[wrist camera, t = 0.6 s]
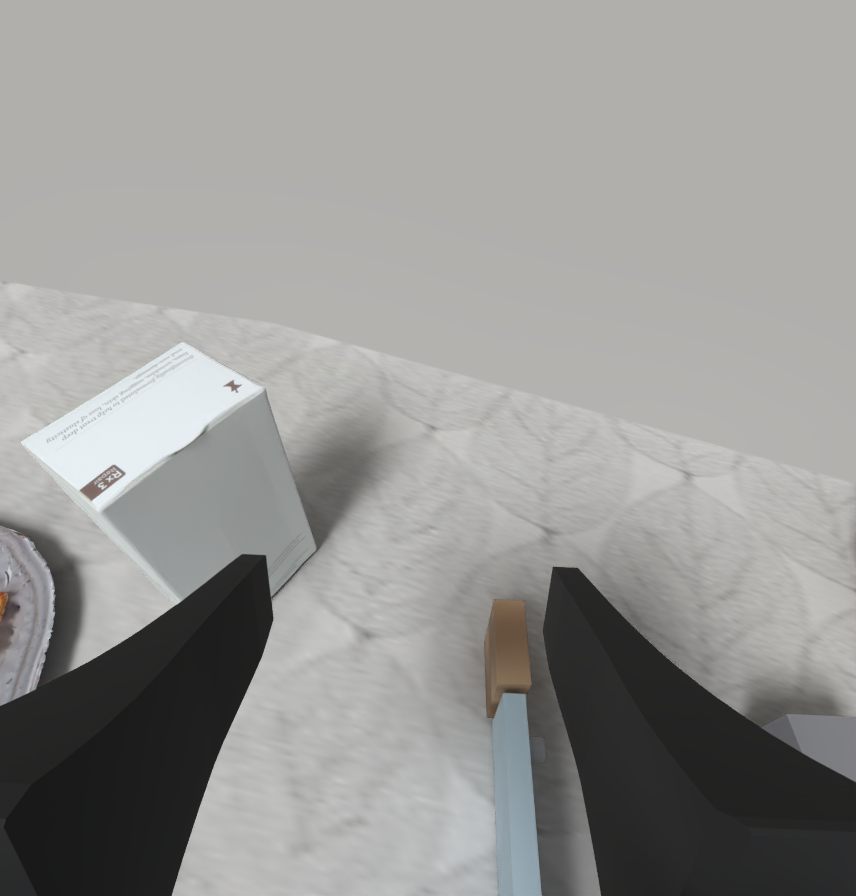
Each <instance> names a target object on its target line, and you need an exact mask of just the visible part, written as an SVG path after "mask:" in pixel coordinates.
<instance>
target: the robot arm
mask: <svg viewBox="0 0 856 896" xmlns="http://www.w3.org/2000/svg"><path fill="white" fill-rule="evenodd" d="M272 622H273V611H272V602H271V594H270V585H269V576H268V568H267V559H266V555H254V554H241V555H240V556H239V557H237V558H236V559H235V560H233V561H232V562H231V563H229V564H228V565H227V566H226V567H224V568H223V569H222V570H221V571H219V572H218V573H217V574H216V575H214V576H213V577H212V578H211V579H209V580H208V581H207V582H206V583H204V584H203V585H202V586H200V587H199V588H198V589H196V590H195V591H194V592H193V593H191V594H190V595H189V596H187V597H186V598H185V599H184V600H182V601H181V602H180V603H178V604H177V605H175V606H174V607H173V608H171V609H170V610H168V611H167V612H166V613H164V614H163V615H161V616H160V617H159V618H157V619H156V620H154V621H153V622H151V623H150V624H149V625H147V626H146V627H144V628H143V629H142V630H140V631H139V632H137V633H135V634H134V635H132V636H131V637H129V638H128V639H126V640H125V641H123V642H121V643H120V644H118V645H116V646H115V647H113V648H111V649H110V650H108V651H106V652H105V653H103V654H101V655H100V656H98V657H96V658H95V659H93V660H91V661H89V662H88V663H86V664H84V665H82V666H80V667H78V668H76V669H74V670H72V671H70V672H69V673H67V674H65V675H63V676H61V677H59V678H57V679H55V680H53V681H51V682H49V683H48V684H46V685H44V686H42V687H40V688H38V689H36V690H34V691H31V692H29V693H27V694H25V695H23V696H21V697H19V698H17V699H14V700H12V701H10V702H8V703H6V704H3V705H1V706H0V896H172V892H173V889H174V886H175V882H176V879H177V876H178V872H179V869H180V866H181V863H182V859H183V856H184V853H185V850H186V847H187V844H188V841H189V838H190V835H191V831H192V828H193V825H194V822H195V819H196V816H197V813H198V810H199V807H200V804H201V801H202V798H203V795H204V793H205V790H206V787H207V784H208V781H209V778H210V775H211V772H212V769H213V766H214V764H215V761H216V759H217V756H218V754H219V751H220V749H221V746H222V744H223V742H224V740H225V737H226V735H227V733H228V731H229V729H230V726H231V724H232V722H233V720H234V718H235V715H236V713H237V711H238V709H239V707H240V704H241V702H242V700H243V698H244V696H245V693H246V691H247V689H248V687H249V685H250V682H251V680H252V678H253V676H254V673H255V671H256V669H257V667H258V664H259V662H260V660H261V658H262V655H263V652H264V649H265V645H266V642H267V639H268V636H269V632H270V629H271V626H272ZM543 634H544V641H545V647H546V654H547V659H548V665H549V670H550V674H551V678H552V681H553V685H554V688H555V692H556V695H557V699H558V702H559V706H560V709H561V712H562V716H563V719H564V723H565V726H566V730H567V733H568V736H569V740H570V743H571V747H572V750H573V754H574V757H575V761H576V765H577V769H578V773H579V777H580V781H581V786H582V791H583V796H584V801H585V807H586V812H587V817H588V822H589V827H590V833H591V839H592V844H593V850H594V855H595V861H596V867H597V872H598V878H599V884H600V890H601V896H856V782H855V781H853V780H851V779H849V778H847V777H845V776H844V775H842V774H840V773H838V772H836V771H834V770H832V769H830V768H829V767H827V766H825V765H823V764H821V763H819V762H817V761H815V760H814V759H812V758H810V757H808V756H807V755H805V754H803V753H802V752H800V751H798V750H797V749H795V748H793V747H792V746H790V745H788V744H787V743H785V742H783V741H781V740H780V739H778V738H776V737H775V736H773V735H772V734H770V733H768V732H767V731H765V730H764V729H762V728H761V727H759V726H757V725H756V724H754V723H753V722H751V721H750V720H748V719H747V718H745V717H744V716H742V715H741V714H740V713H738V712H737V711H735V710H734V709H732V708H731V707H729V706H728V705H726V704H725V703H724V702H722V701H721V700H719V699H718V698H717V697H715V696H714V695H712V694H711V693H710V692H708V691H707V690H706V689H704V688H703V687H702V686H700V685H699V684H698V683H697V682H695V681H694V680H693V679H692V678H690V677H689V676H688V675H687V674H685V673H684V672H683V671H682V670H680V669H679V668H678V667H677V666H675V665H674V664H673V663H672V662H671V661H670V660H668V659H667V658H666V657H665V656H664V655H663V654H662V653H660V652H659V651H658V650H657V649H656V648H655V647H654V646H653V645H652V644H651V643H650V642H648V641H647V640H646V639H645V638H644V637H643V636H642V635H641V634H640V633H639V632H638V631H637V630H636V629H635V628H634V627H633V626H632V625H631V624H630V623H629V622H628V621H627V620H626V619H625V618H624V617H623V616H622V615H621V614H620V613H619V612H618V611H617V610H616V609H615V608H614V607H613V606H612V605H611V604H610V603H609V602H608V601H607V599H606V598H605V597H604V596H603V595H602V594H601V593H600V592H599V591H598V590H597V589H596V587H595V586H594V585H593V584H592V583H591V582H590V581H589V580H588V579H587V578H586V576H585V575H584V574H583V573H582V572H581V571H580V570H579V569H578V568H567V567H553V570H552V577H551V583H550V589H549V596H548V602H547V608H546V614H545V621H544V627H543Z"/></svg>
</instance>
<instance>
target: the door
mask: <svg viewBox="0 0 856 896" xmlns="http://www.w3.org/2000/svg"><path fill="white" fill-rule="evenodd" d="M492 733H493V760H494V787H495V815H496V842H497V869H498V896H542V894H541V881H540V869H539V856H538V844H537V831H536V819H535V806H534V794H533V781H532V769H531V762H537V763H545V761H546V747H545V741H544V738H543V737H529V731H528V719H527V706H526V694H514V693H503V695H502V697H501V700H500V703H499V705H498V708H497V711H496V714H495V716H494V719H493V722H492Z"/></svg>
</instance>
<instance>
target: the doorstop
mask: <svg viewBox="0 0 856 896" xmlns="http://www.w3.org/2000/svg"><path fill="white" fill-rule="evenodd" d="M761 728H762V729H764V730H765V731H767V732H768V733H770V734H772V735H773V736H775V737H776V738H778V739H780V740H781V741H783V742H785V743H787V744H788V745H790V746H792V747H793V748H795V749H797V750H798V751H800V752H802V753H803V754H805V755H807V756H808V757H810V758H812V759H814V760H815V761H817V762H819V763H821V764H823V765H825V766H827V767H829V768H830V769H832V770H834V771H836V772H838V773H840V774H842V775H844V776H845V777H847V778H849V779H851V780H853V781H855V782H856V717H845V716H825V715H805V714H785V715H783V716H781V717H779V718H777V719H775V720H773V721H771V722H770V723H768V724H766V725H764V726H762V727H761Z"/></svg>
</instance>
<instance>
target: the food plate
mask: <svg viewBox="0 0 856 896" xmlns="http://www.w3.org/2000/svg"><path fill="white" fill-rule="evenodd" d="M0 527H2V528H4V529H2V528H0V706H1V705H3V704H6V703H8V702H10V701H12V700H14V699H17V698H19V697H21V696H23V695H25V694H27V693H29V692H31V691H34V690H35V689H36V686H37V684H38V682H39V679H40V673H42V672H41V669H43V667H44V664H43V663H44V661H45V658H46V655H44V653H45V652H46V651H47V648H48V646H49V640H48V639H50V638H51V637H50V636H51V634H50V632H53V631H52V630H51V629H52V627H53V623H52V622H54V621H53V618H54V615H55V612H56V611H54V610H55V608H54V605H55V603H54V602H55V601H54V600H55V599H54V598H55V594H53V593H54V591H55V588H54V586H53V585H54V583H53V582H54V581H53V580H52V577H51V576H52V575H51V572H50V568H48V567H47V562H46V560H45V559H44V558H42V556H41V554H40V553H39V552H38V550H37V549H36V547H35V546H34V544H33V543H34V542H33V541H32V540H29V538H27V537H24V535H25V534H24V535H23V536H21V535H18V534H15V532H18V531H16V530H13V529H9V528H6V527H3V526H0ZM6 529H8V530H6ZM9 530H11V531H9ZM12 531H15V532H12ZM19 533H20V532H19ZM22 534H23V533H22ZM29 537H30V536H29Z"/></svg>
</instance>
